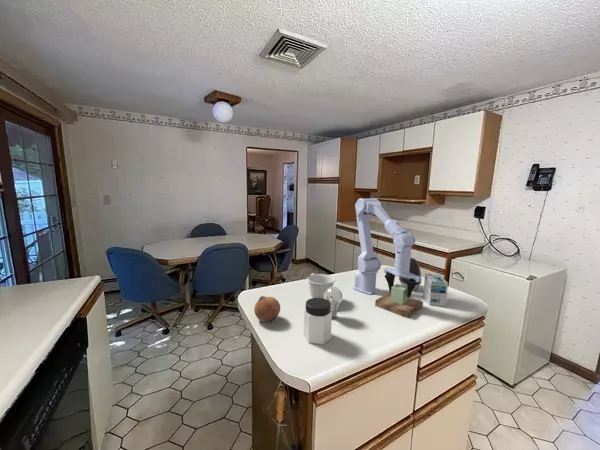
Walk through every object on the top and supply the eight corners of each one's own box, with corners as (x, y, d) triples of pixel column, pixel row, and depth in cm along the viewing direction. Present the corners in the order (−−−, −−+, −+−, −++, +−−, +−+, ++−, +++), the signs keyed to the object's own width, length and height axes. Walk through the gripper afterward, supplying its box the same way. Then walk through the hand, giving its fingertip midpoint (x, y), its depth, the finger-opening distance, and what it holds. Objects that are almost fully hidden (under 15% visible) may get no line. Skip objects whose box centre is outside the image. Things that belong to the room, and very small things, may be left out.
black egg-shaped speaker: (412, 283, 136) (415, 255, 134) (424, 291, 126) (427, 260, 124) (394, 283, 135) (396, 255, 132) (405, 292, 125) (407, 261, 122)
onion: (257, 326, 97) (246, 302, 97) (277, 313, 102) (267, 290, 102) (267, 329, 89) (255, 302, 89) (288, 315, 94) (277, 289, 94)
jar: (315, 327, 92) (316, 294, 90) (334, 336, 87) (336, 302, 85) (298, 338, 85) (299, 303, 84) (319, 348, 80) (320, 311, 78)
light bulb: (342, 314, 102) (344, 285, 100) (339, 323, 95) (341, 292, 93) (325, 311, 104) (326, 282, 102) (321, 319, 97) (322, 289, 95)
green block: (390, 300, 109) (391, 286, 108) (395, 297, 112) (397, 283, 112) (402, 304, 105) (403, 290, 105) (407, 301, 109) (408, 287, 108)
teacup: (322, 290, 124) (322, 270, 123) (339, 303, 111) (340, 281, 109) (299, 294, 119) (299, 273, 117) (314, 309, 106) (315, 285, 104)
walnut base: (375, 305, 110) (375, 300, 109) (391, 296, 119) (391, 291, 119) (408, 318, 100) (408, 312, 99) (422, 306, 109) (423, 301, 109)
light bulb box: (446, 307, 110) (448, 282, 108) (428, 305, 111) (431, 281, 109) (438, 296, 120) (440, 274, 118) (422, 295, 121) (424, 272, 120)
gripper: (381, 260, 109) (379, 290, 111) (416, 268, 99) (413, 302, 101) (389, 257, 114) (387, 286, 116) (423, 264, 104) (420, 297, 106)
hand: (399, 293), depth 109 cm, fingers open, 7 cm apart
